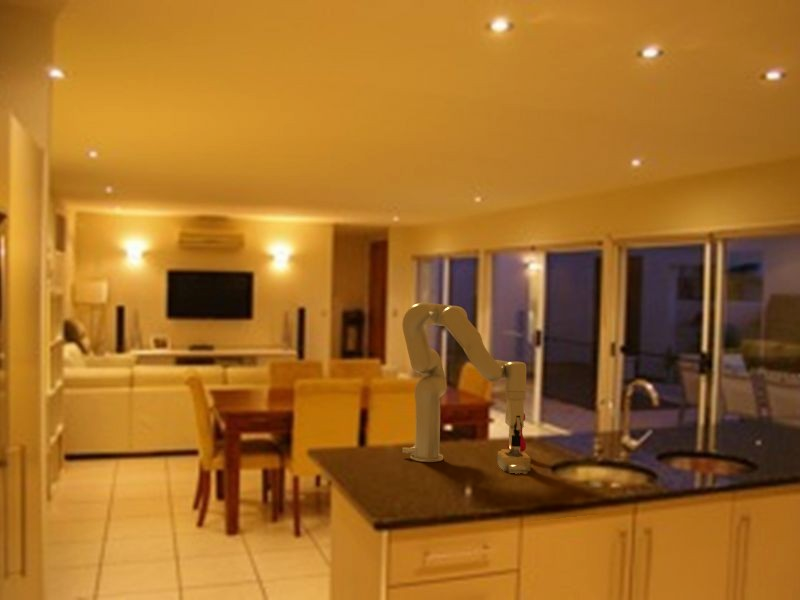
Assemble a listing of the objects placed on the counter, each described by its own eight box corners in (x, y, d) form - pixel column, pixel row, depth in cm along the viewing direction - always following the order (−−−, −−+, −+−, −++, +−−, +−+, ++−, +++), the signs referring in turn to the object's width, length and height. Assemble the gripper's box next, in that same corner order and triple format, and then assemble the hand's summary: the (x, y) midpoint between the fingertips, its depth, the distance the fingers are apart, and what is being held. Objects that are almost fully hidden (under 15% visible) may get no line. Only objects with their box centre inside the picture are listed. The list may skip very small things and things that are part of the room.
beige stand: (504, 473, 245) (505, 459, 245) (495, 462, 262) (496, 449, 262) (532, 474, 245) (532, 460, 245) (521, 462, 262) (521, 449, 262)
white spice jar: (508, 454, 251) (509, 422, 251) (506, 451, 256) (506, 419, 256) (523, 455, 251) (523, 422, 251) (519, 451, 256) (520, 419, 256)
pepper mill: (525, 459, 267) (527, 408, 267) (506, 458, 268) (508, 407, 268) (525, 455, 274) (527, 405, 274) (507, 454, 276) (509, 404, 275)
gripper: (501, 392, 262) (500, 440, 262) (510, 398, 245) (509, 449, 245) (520, 392, 262) (519, 440, 262) (531, 398, 245) (530, 450, 245)
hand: (514, 444), depth 253 cm, fingers closed on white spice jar, 4 cm apart
